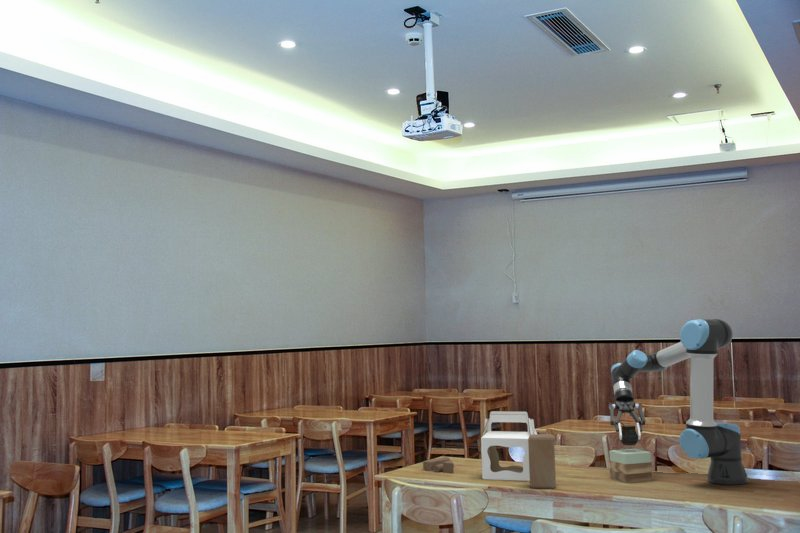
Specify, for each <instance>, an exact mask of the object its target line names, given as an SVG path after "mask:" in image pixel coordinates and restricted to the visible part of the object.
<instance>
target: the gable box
mask: <svg viewBox="0 0 800 533" xmlns="http://www.w3.org/2000/svg"><path fill="white" fill-rule="evenodd" d="M493 423H525V424H526V427H527V431H521V430H520V431H519V430H517V431H516V430H515V431H513V430H508V431H507V430H501V431H500V430H493V429H492V424H493ZM535 427H536V426H535V419H534V418H530V417H529V414H528V411H520V410H519V411H507V410H506V411H505V410H502V411H501V410H499V411H498V410H496V411H494V410H493V411H490V413H489V418H484V429H483V431H482V434H481V437H480V446H481V447H480V448H481V453H480V454H481V475H482V480H492V481H493V480H495V481H497V480H498V481H517V482H520V481H521V482H530V474H529V449H528V438H529V436H530V435H531V434H538V432H537V430H536V428H535ZM498 446H499V447H504V448H518V447H519V448H522V449H524V452H525V453H524V456H523V459H522V466H520V465H508V466H501V465H500V456H499V452H498V450H497V447H498Z"/></svg>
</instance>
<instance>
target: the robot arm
mask: <svg viewBox="0 0 800 533" xmlns="http://www.w3.org/2000/svg"><path fill="white" fill-rule="evenodd" d="M679 333H680V334H679V340H680V341H679V342H677V343H675V344H672V345H670V346H667V347H665V348H663V349H661V350H658V351H656V352H654V353H651V354H650V353H646V354H645V353H644V352H643V351H642V350H639V349H634V350H632V352H631V353H629V354H628V355H627V357H625V359H624V360H623V361H622V362H617V363H616V364H613V365H612V366H611V367H610V373H611V374H610V377H611V382H612V387H613V395H614V400H615V402H614V403H613V404H612V403H609V404H608V409H609V412H610V413H609V415H610V416H609V418H610V420H609V421H610V422H609V424H610V425H611V426H614V427H615V432H616V433H618V435H619V440H620V441H621V440H622V424H621V422H620V421H621V418H622V414H630V416H631V417H632V419H633V420H634V422H635V424H636V425H635V429H636V433H637V435H638V441H639V440H641V437H642V434H641V433H642V432H643V426H645V425H646V418H645V415H644V412H643V408H642V406H643V404H642V403H640V402H639V403H636V402H635V401H634V395H633V390H632V383H631V380H632V379H633V378H634V377H635V376H636V375H637V374H638V373H646V372H647V373H648V372H649V373H650V372H661V371H665V370H667V369H668V367H671V366H673V365H675V364H677V363H681V362H683V361H685V360H688V359H690V361H689V362H690V364H689V368H690V369H689V374H690V376H689V377H690V378H689V386H690V387H689V390H690V391H689V393H690V394H689V398H690V399H689V402H690V403H689V405H690V406H689V419H688V420H686V422H685V429H683V430H682V432H681V433H680V435H679V443H680V447H681V449H682V451H683V452H684V453H685V455H686V456H688V457H690V458H691V459H694V460H695V459H696V460H699V459H700V460H703V459H707V458H710V464H709V467H708V471H707V474H706V475H707V476H706V481H707V482H709V483H712V484H717V485H731V486H732V485H733V486H735V485H745V484H747V483H749V477H748V474H747V471H746V470H745V466H744V464H743V457H742V440H741V439H742V438H741V436H742V435H741V428H740V426H739V425H738V424H734V423H725V422H724V423H722V422H717V421H715V420H714V360H715V358H716V356H718V354H719V353H718V352H719V351H718V350H720V349H722V348H725V347H727V346H729V345H730V344H731V342H732V339H733V336H734V334H733V329H732V327H731V325H729V324H728V322H726V321H725V320H723V319H718V318H714V319H712V318H708V319H705V318H703V319H702V318H697V319H691V320H689V321H687V322H686V323H685V324H684V325H683V326H682V328H681V330H680V332H679ZM635 408H636V410H637V412H638V414H637V412H636V410H635ZM615 409H617V411H618V412H617V415H616V418H615V419H614V414H615V413H614V412H615V411H614V410H615ZM638 415H639V416H638ZM619 420H620V421H619Z"/></svg>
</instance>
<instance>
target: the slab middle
mask: <svg viewBox="0 0 800 533" xmlns="http://www.w3.org/2000/svg"><path fill="white" fill-rule="evenodd" d="M610 470H612V471H616V472H620V473H623V474H636V473H647V472H652V473H653V462H652V461H651V462H648V463H635V464H622V463H618V462H614V461H611V460H610V459H609V471H610Z"/></svg>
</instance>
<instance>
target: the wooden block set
mask: <svg viewBox="0 0 800 533" xmlns="http://www.w3.org/2000/svg"><path fill="white" fill-rule="evenodd" d="M454 468H455V463H454V462H453V461H452V459H450V458H449V457H447V456H444V457H438V458H433V459H428V460H423V461H422V470H425V471H426V472H435V473H440V472H443V474H444V473H445V474H454ZM425 471H424V472H425Z"/></svg>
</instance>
